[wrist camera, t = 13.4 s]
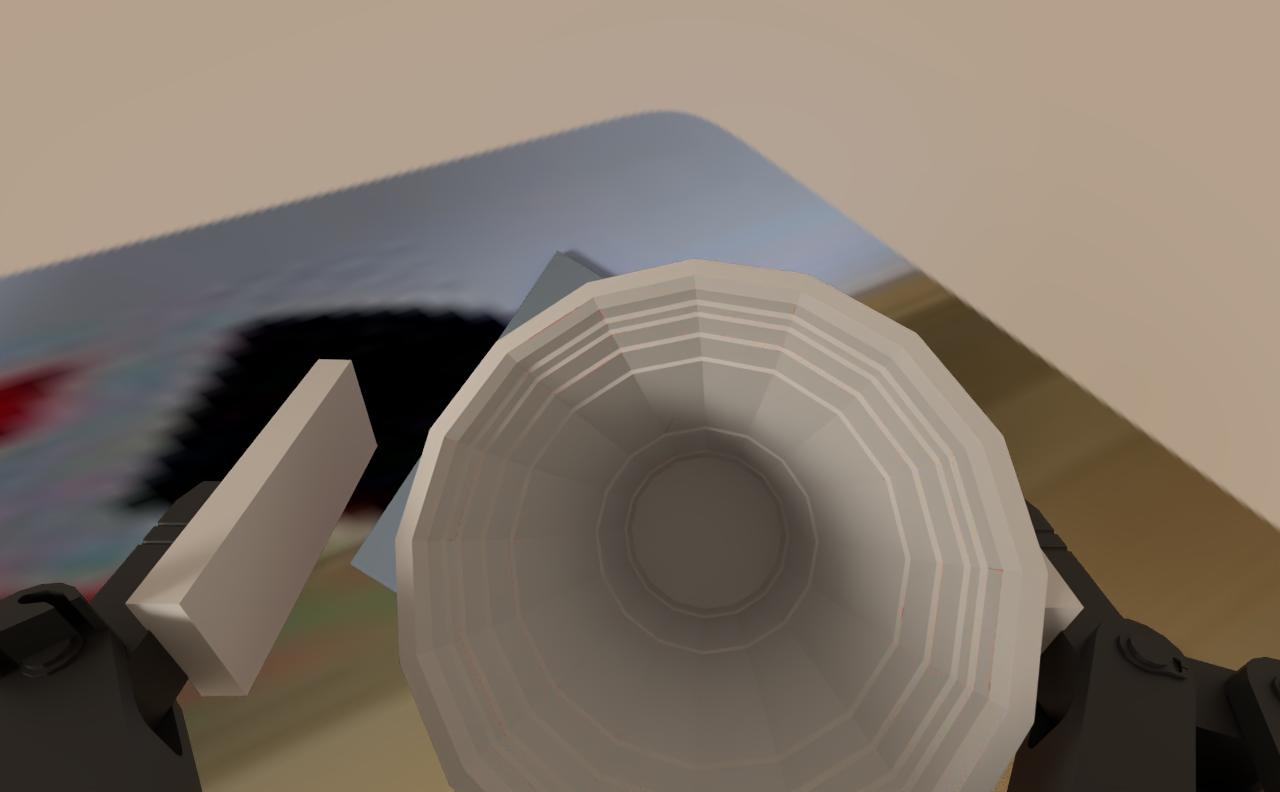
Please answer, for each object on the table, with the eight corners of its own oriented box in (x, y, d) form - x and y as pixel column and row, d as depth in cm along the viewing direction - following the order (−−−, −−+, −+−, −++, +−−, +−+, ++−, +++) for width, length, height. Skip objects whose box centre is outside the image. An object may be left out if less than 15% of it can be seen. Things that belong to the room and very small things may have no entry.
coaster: (355, 561, 21) (349, 564, 20) (558, 255, 23) (557, 250, 23) (682, 765, 21) (684, 772, 20) (858, 432, 23) (863, 431, 22)
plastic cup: (704, 324, 22) (695, 126, 10) (922, 534, 20) (1222, 581, 8) (500, 518, 22) (254, 536, 10) (697, 755, 19) (673, 1138, 8)
